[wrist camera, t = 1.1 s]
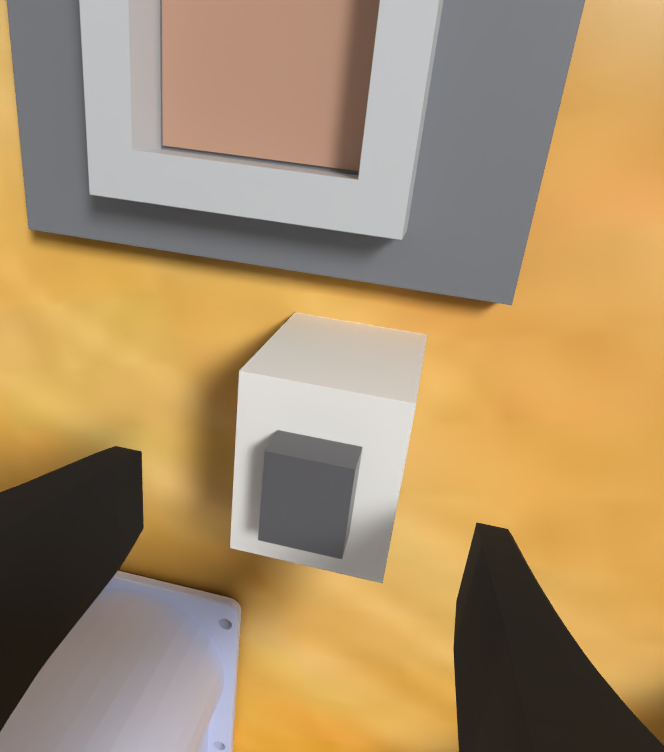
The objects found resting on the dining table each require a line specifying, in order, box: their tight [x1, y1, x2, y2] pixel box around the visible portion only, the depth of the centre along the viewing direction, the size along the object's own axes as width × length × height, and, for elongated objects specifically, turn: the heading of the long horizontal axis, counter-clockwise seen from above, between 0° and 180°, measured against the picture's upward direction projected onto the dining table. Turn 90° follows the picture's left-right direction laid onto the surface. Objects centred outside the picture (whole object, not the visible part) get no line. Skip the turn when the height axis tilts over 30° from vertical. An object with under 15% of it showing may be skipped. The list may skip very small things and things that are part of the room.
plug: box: [230, 312, 427, 583], centre depth 16 cm, size 5×4×6 cm
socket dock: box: [7, 0, 585, 305], centre depth 14 cm, size 12×14×2 cm
